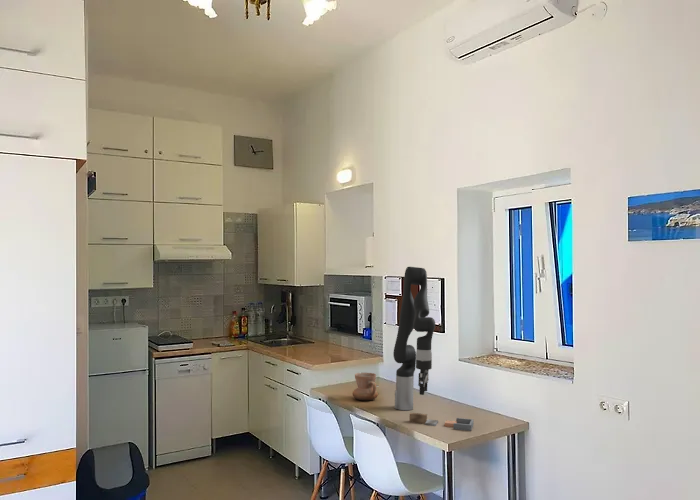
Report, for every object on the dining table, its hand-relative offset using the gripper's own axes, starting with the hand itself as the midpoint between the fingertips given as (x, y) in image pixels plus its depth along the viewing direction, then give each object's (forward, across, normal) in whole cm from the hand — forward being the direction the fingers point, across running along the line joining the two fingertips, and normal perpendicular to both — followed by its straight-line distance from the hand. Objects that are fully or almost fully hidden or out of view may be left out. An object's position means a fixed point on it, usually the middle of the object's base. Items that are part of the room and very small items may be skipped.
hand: (423, 392), depth 263 cm
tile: (+15, 0, +13) cm, 20 cm away
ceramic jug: (+14, -36, -39) cm, 55 cm away
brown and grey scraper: (+14, 0, 0) cm, 14 cm away
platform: (+15, -57, -41) cm, 71 cm away
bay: (+14, 0, +19) cm, 23 cm away
